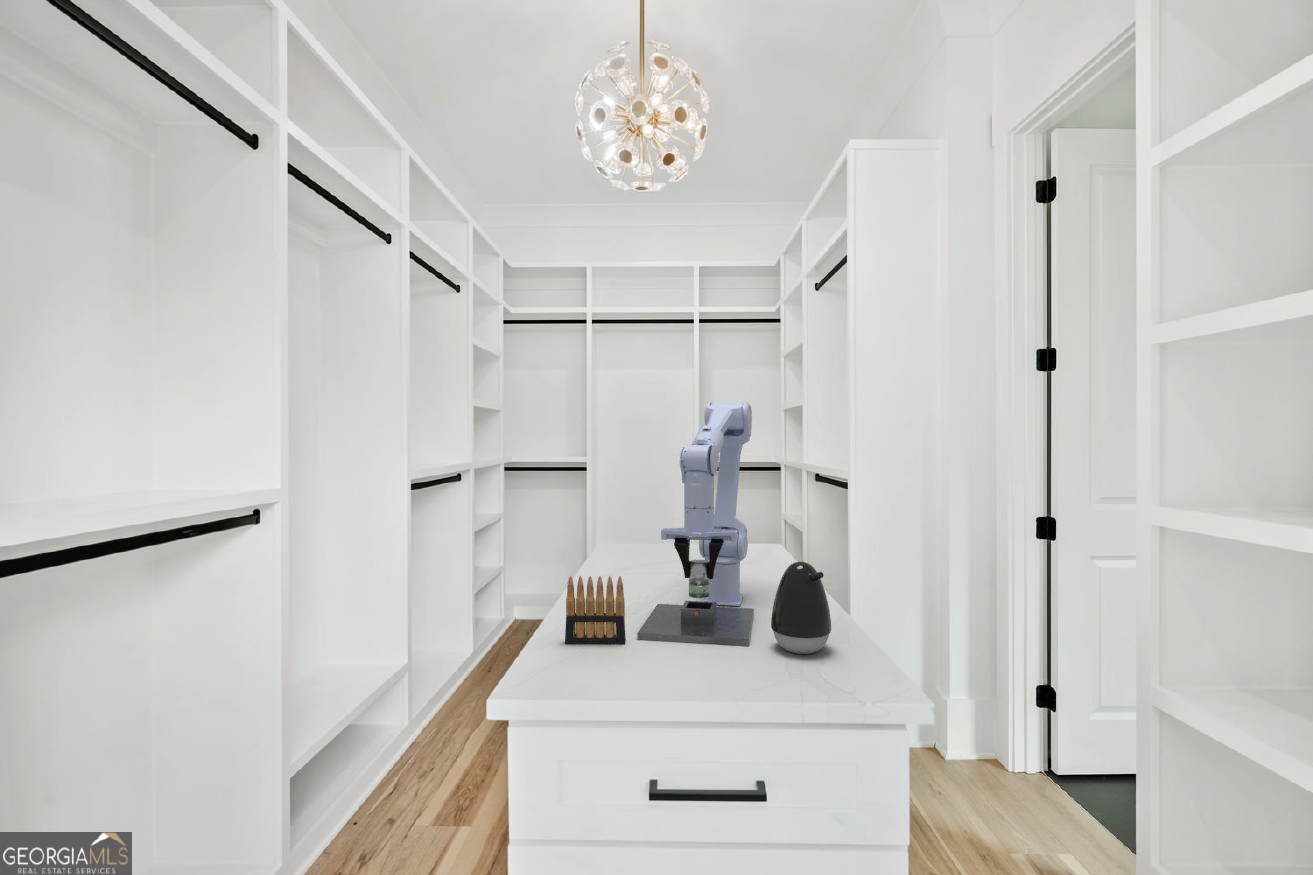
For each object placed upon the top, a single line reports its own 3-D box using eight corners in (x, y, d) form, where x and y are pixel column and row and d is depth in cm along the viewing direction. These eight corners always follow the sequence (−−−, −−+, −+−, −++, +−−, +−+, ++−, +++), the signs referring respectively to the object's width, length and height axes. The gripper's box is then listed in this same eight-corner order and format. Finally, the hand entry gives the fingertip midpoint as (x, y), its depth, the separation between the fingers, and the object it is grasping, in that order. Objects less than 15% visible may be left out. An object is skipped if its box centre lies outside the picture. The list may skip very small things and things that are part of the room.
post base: (657, 609, 141) (657, 590, 141) (753, 614, 138) (753, 594, 138) (637, 639, 122) (637, 617, 122) (748, 646, 118) (748, 623, 118)
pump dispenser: (797, 663, 109) (797, 570, 109) (759, 645, 119) (759, 559, 118) (845, 653, 114) (845, 564, 114) (804, 636, 123) (805, 553, 123)
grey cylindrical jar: (690, 592, 132) (690, 559, 132) (710, 593, 131) (710, 559, 131) (687, 597, 128) (687, 563, 128) (708, 598, 127) (708, 564, 127)
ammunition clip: (564, 644, 119) (564, 577, 119) (566, 641, 121) (566, 574, 121) (625, 644, 119) (625, 577, 119) (625, 641, 121) (625, 574, 121)
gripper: (658, 508, 127) (658, 580, 127) (735, 510, 124) (735, 584, 124) (664, 504, 134) (664, 572, 134) (738, 506, 131) (738, 575, 131)
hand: (699, 577), depth 130 cm, fingers closed on grey cylindrical jar, 4 cm apart
